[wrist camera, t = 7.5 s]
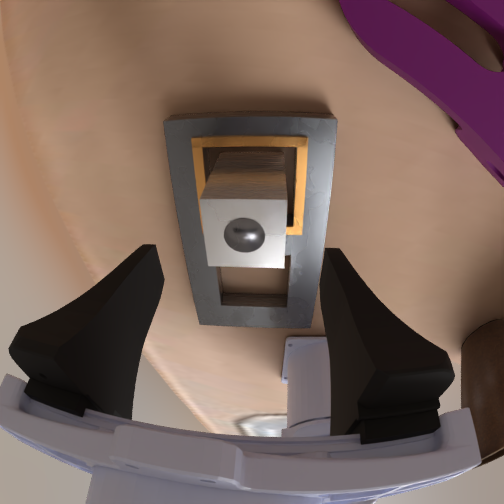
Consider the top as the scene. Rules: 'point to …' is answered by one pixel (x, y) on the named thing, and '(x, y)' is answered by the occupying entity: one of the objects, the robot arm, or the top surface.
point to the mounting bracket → (442, 68)
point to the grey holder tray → (298, 223)
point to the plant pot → (485, 387)
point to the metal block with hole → (245, 210)
